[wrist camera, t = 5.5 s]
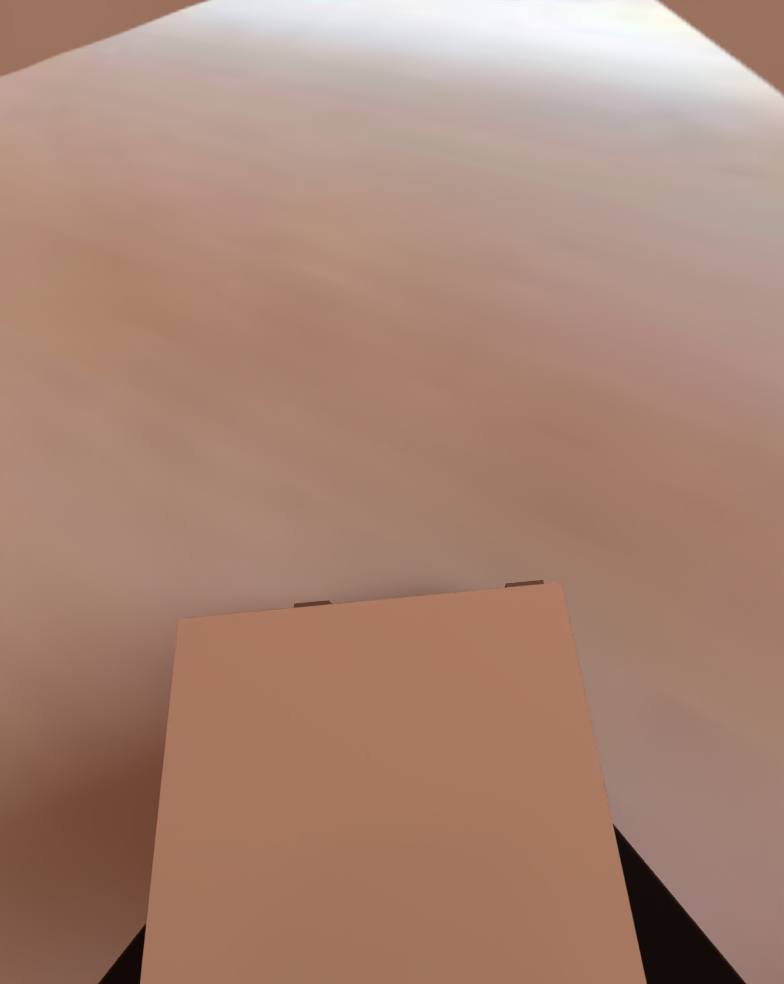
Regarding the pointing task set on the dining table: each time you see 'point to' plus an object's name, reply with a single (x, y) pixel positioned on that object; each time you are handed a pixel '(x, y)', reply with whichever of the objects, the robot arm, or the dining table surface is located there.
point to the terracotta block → (386, 800)
